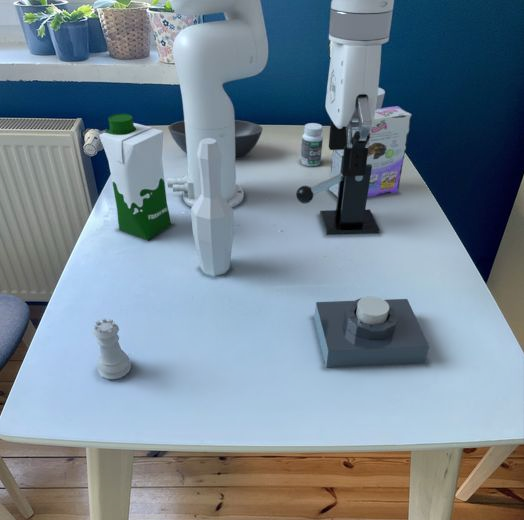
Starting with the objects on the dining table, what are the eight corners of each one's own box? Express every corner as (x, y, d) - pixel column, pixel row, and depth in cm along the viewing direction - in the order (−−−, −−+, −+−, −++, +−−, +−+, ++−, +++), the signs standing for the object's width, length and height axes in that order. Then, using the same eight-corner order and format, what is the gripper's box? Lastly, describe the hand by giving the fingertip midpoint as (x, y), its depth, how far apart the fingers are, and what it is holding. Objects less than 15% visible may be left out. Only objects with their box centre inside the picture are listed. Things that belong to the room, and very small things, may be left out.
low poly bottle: (217, 255, 96) (210, 129, 81) (241, 269, 93) (239, 141, 78) (189, 269, 93) (177, 140, 78) (213, 284, 89) (205, 153, 74)
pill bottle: (307, 168, 124) (310, 131, 119) (296, 160, 127) (298, 124, 122) (324, 164, 126) (328, 127, 120) (313, 157, 129) (316, 121, 124)
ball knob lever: (301, 209, 100) (294, 195, 98) (299, 201, 102) (292, 187, 100) (367, 178, 97) (362, 163, 95) (363, 171, 99) (358, 155, 97)
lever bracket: (326, 236, 101) (333, 170, 93) (319, 216, 107) (325, 152, 99) (378, 235, 102) (390, 169, 94) (368, 214, 108) (379, 151, 99)
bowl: (261, 165, 125) (261, 138, 121) (166, 163, 125) (164, 136, 121) (263, 145, 134) (263, 120, 130) (175, 143, 134) (172, 117, 130)
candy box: (385, 182, 119) (398, 104, 108) (398, 193, 115) (413, 114, 104) (327, 190, 116) (335, 110, 105) (339, 202, 112) (348, 121, 101)
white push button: (359, 325, 74) (361, 316, 73) (353, 306, 78) (354, 296, 76) (390, 324, 75) (393, 314, 73) (383, 305, 78) (385, 295, 77)
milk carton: (143, 212, 107) (127, 107, 94) (179, 224, 104) (168, 117, 90) (112, 231, 102) (91, 122, 88) (148, 244, 98) (132, 133, 85)
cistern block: (326, 368, 75) (329, 340, 71) (314, 318, 83) (316, 292, 79) (424, 363, 76) (432, 336, 72) (403, 315, 84) (409, 288, 80)
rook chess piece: (100, 359, 75) (89, 314, 70) (133, 358, 76) (124, 313, 70) (96, 382, 72) (83, 336, 67) (130, 380, 72) (120, 335, 67)
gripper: (318, 13, 73) (310, 141, 84) (344, 41, 60) (331, 187, 71) (372, 13, 74) (357, 139, 85) (409, 40, 61) (386, 185, 72)
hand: (345, 161), depth 78 cm, fingers open, 9 cm apart
